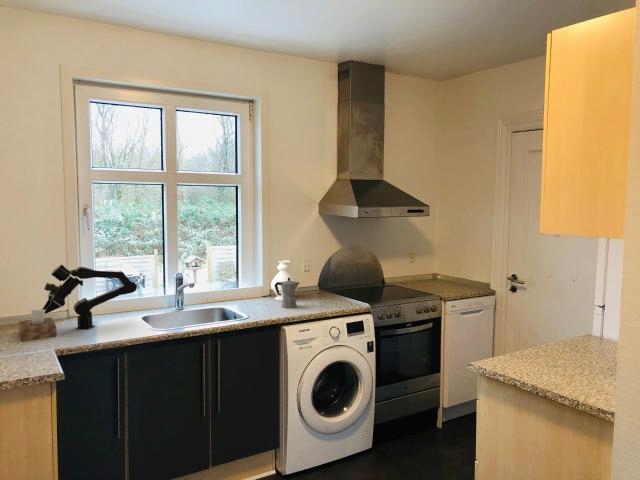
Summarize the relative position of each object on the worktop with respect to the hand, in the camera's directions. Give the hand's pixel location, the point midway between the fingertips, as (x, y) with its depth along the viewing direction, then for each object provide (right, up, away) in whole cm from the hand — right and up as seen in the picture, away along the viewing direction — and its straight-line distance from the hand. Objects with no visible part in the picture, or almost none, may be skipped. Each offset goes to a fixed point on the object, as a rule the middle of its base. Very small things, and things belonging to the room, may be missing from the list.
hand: (44, 311), depth 248 cm
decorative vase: (+114, -4, +82) cm, 141 cm away
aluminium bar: (-2, -9, -1) cm, 9 cm away
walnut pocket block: (-2, -11, -1) cm, 11 cm away
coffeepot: (+117, -6, +58) cm, 131 cm away
